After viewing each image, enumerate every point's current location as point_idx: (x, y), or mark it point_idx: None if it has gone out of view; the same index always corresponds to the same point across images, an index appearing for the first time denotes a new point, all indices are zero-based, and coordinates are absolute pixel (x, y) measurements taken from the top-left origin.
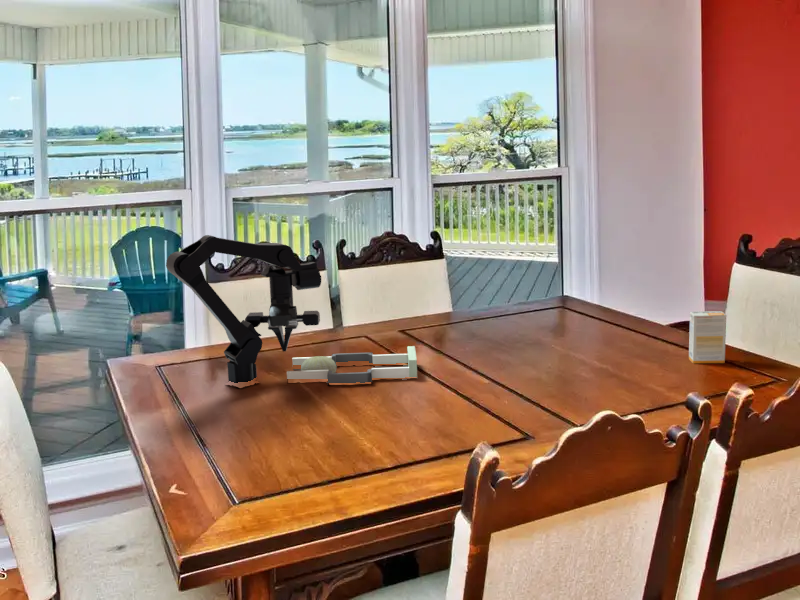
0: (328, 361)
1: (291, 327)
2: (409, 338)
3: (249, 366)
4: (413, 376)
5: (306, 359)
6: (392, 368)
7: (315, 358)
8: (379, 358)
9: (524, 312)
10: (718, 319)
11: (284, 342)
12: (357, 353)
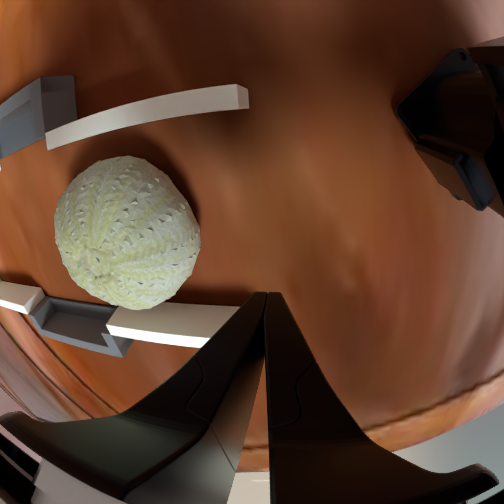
0: (56, 229)
1: (19, 439)
2: (91, 414)
3: (484, 84)
4: None
5: (151, 267)
6: None
7: (99, 253)
8: (19, 298)
9: (49, 422)
10: None
11: (248, 339)
12: (62, 338)
